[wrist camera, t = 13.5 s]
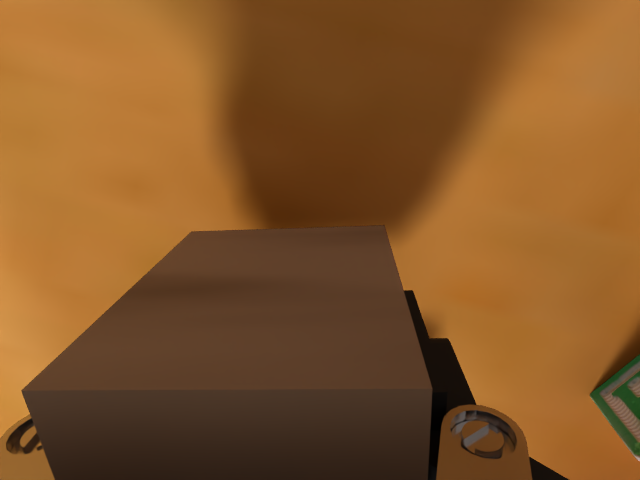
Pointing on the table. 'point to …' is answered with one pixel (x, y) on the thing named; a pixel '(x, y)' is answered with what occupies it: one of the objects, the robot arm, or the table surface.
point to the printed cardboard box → (622, 404)
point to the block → (246, 367)
